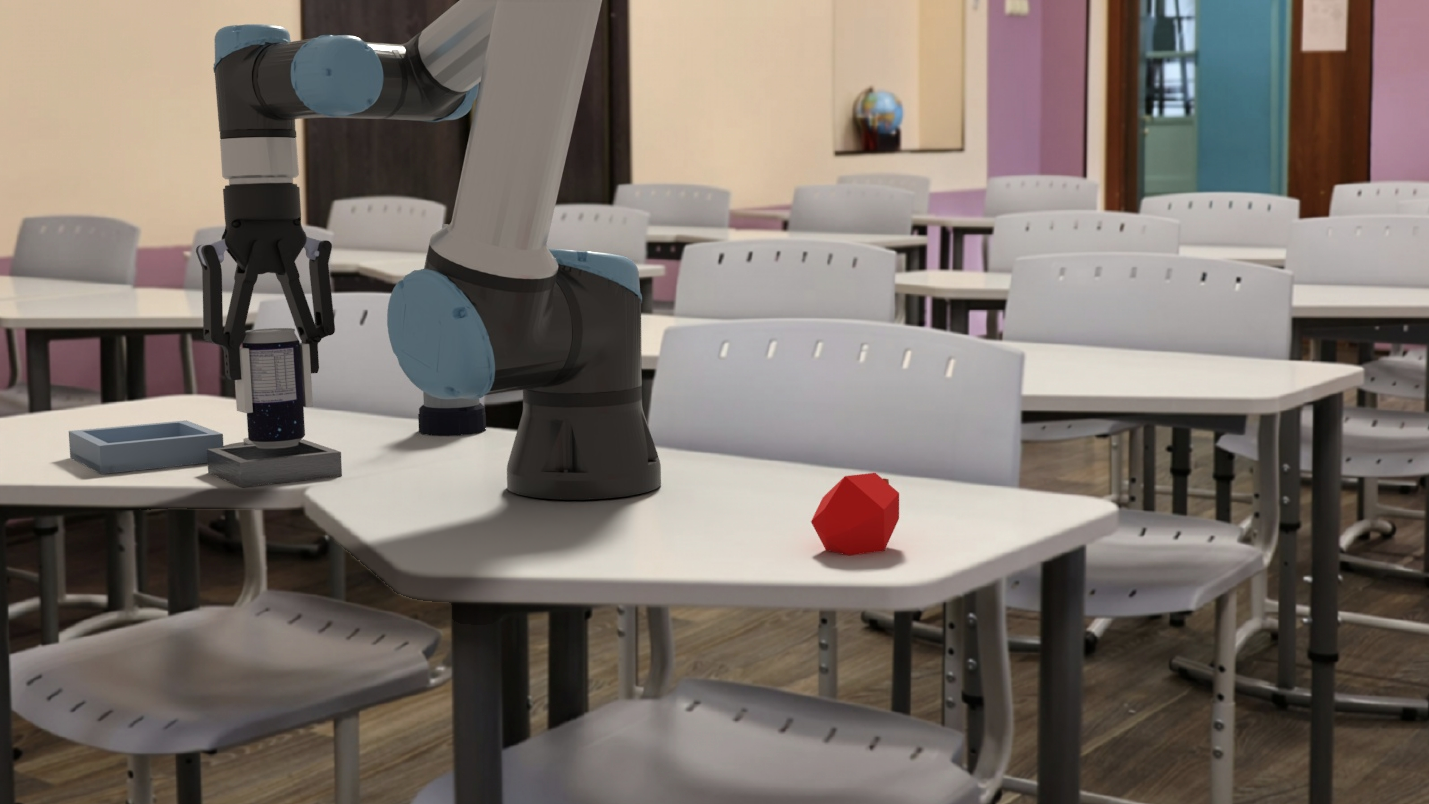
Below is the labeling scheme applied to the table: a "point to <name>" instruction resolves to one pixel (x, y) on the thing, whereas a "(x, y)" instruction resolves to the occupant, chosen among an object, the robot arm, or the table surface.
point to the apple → (857, 515)
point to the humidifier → (451, 415)
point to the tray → (143, 446)
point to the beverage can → (275, 388)
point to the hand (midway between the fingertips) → (275, 408)
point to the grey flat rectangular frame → (273, 463)
